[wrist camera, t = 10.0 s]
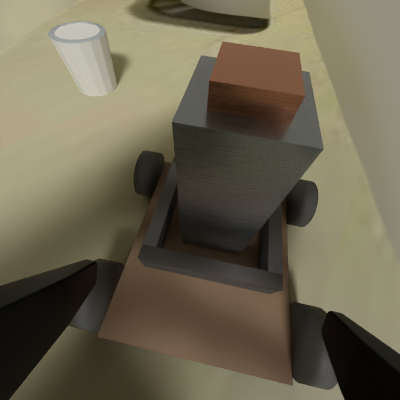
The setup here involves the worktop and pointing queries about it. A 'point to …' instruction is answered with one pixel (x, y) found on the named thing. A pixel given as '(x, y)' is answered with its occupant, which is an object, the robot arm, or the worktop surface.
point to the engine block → (241, 142)
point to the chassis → (210, 291)
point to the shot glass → (86, 56)
